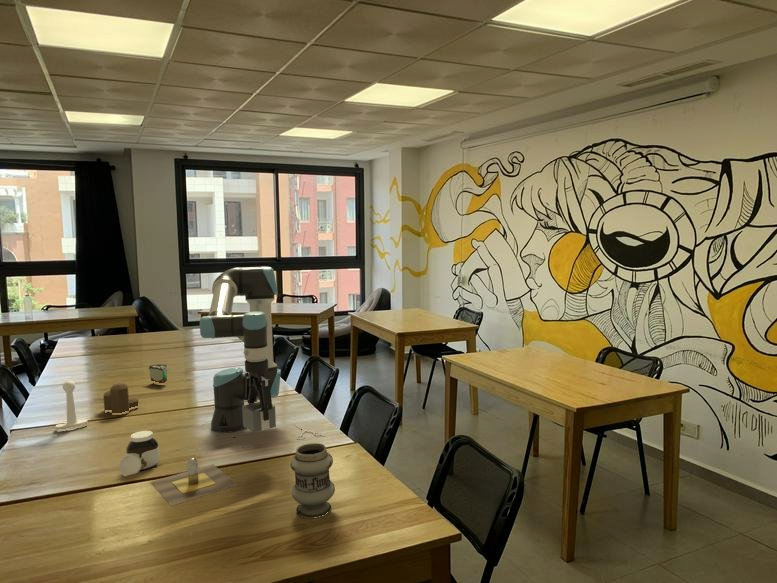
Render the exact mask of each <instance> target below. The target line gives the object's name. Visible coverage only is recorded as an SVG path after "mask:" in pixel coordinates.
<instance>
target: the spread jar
mask: <svg viewBox="0 0 777 583" xmlns="http://www.w3.org/2000/svg"><path fill="white" fill-rule="evenodd" d="M125 449H126V451H125V455H126V456H124V457H122V458H121V460H120V462H119V464H118V465H119V466H118V469H119V472H120V474H121V475H122V476H124V477H127V476H130V475H134V474H137V473H142V472H144V471H145V472H146V471H149V470H152V468H153V469H154V468H155V467H156V466H157V465H158V464H159V461H160V445H159V442H158V441H157V439H155V438H154V434H153V431H150V430H141V431H136V432H133V433H132V434H131V435H130V442H129V443H128V444H127V446H126V448H125Z"/></svg>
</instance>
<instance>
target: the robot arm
mask: <svg viewBox="0 0 777 583" xmlns="http://www.w3.org/2000/svg"><path fill="white" fill-rule="evenodd" d="M211 293H212V300H211V303H210V309H209V312H208V315H207V316H206V315H205V316H204V315H203V316H202V317H200V319H199V332H200V336H201V338H203V339H221V338H222V339H223V338H239V337H240V338H241V337H243V344H244V345H243V349H244V351H243V352H242V353H243V355H244V359H245V361H244V370H243V368H242V367H230V368H226V369H222V370H220V371H217V373H215V374H214V376H213V381H212V383H213V384H212V386H213V400H214V402H213V403H214V410H213V414H212V417H211V422H210V429H211V431H213V432H216V433H234V432H238V431H242V430H244V429H246V428H245V427H244V426H243V413H242V406H244V405H245V401H247V403H248V404H252V403H257V402H258V400H259V402H260V405H261V409H262V410H260V417H261V430H262V431H266V430H268V429H271V428H270V425H269V410H271V409H272V405H273V403H272V399H274V398H275V399H276V398H277V397H279V394H280V388H281V387H280V386H281V373H282V370H281V368H278V364H277V363H276V362H274V348H273V345H274V344H273V326H272V325H273V322H272V303H273V301H274V300H275V296H277V295H279V294H278V293H279V292H278V287H277V280H276V275H275V270H274V268H272V267H271V266H249V267H248V266H247V267H246V266H245V267H243V266H242V267H240V266H239V267H233V268H230V269H227V270H225V271H223V272H221V273H220V274H219V275H218V276H217V277H216V278H215V279H214V281H213V283H212V287H211ZM235 297H245V301H246V302H247V303H248V304H249V311H248V312H246V313H244V314H232V311H233V304H234V299H235ZM248 404H247V405H248Z"/></svg>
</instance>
